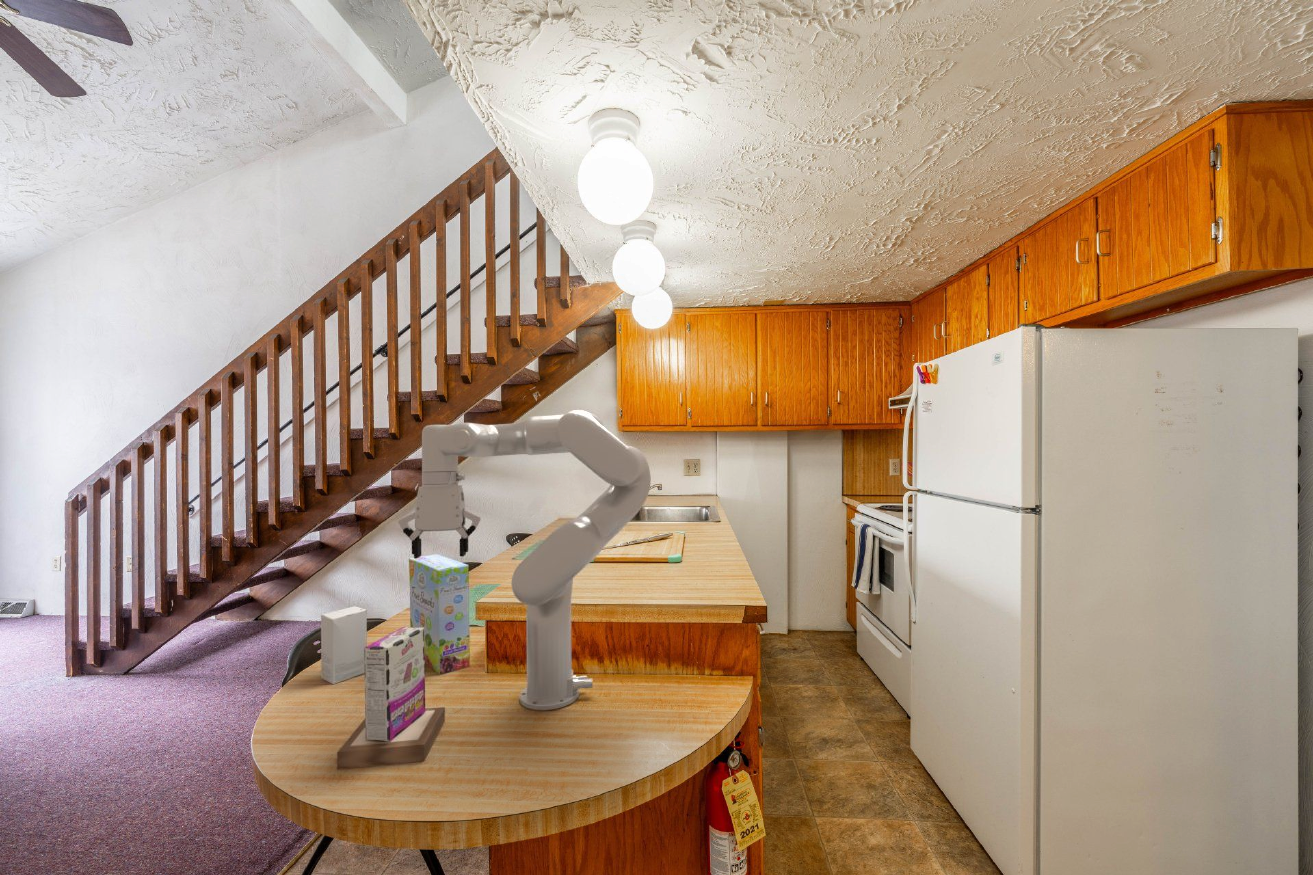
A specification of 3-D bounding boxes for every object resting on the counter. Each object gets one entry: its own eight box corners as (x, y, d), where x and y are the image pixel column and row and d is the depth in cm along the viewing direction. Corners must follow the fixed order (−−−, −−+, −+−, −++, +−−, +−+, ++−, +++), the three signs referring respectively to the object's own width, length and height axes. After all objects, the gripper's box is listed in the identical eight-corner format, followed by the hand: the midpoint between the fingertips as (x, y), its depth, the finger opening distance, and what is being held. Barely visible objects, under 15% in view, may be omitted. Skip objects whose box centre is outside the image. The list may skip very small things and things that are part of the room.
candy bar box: (402, 711, 104) (402, 625, 104) (426, 712, 103) (426, 626, 104) (362, 741, 93) (362, 645, 93) (388, 743, 92) (388, 646, 93)
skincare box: (355, 667, 134) (356, 605, 135) (368, 673, 130) (369, 609, 131) (319, 679, 128) (319, 613, 128) (331, 685, 124) (332, 617, 124)
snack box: (406, 653, 144) (406, 557, 145) (439, 645, 150) (439, 553, 151) (437, 676, 128) (436, 568, 129) (472, 666, 134) (471, 563, 135)
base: (444, 721, 106) (444, 705, 106) (424, 760, 92) (424, 743, 92) (369, 727, 104) (369, 711, 104) (337, 768, 90) (337, 750, 90)
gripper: (483, 478, 125) (483, 552, 124) (405, 480, 122) (404, 555, 122) (476, 479, 117) (477, 557, 117) (393, 481, 115) (393, 561, 114)
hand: (440, 556), depth 119 cm, fingers open, 9 cm apart
